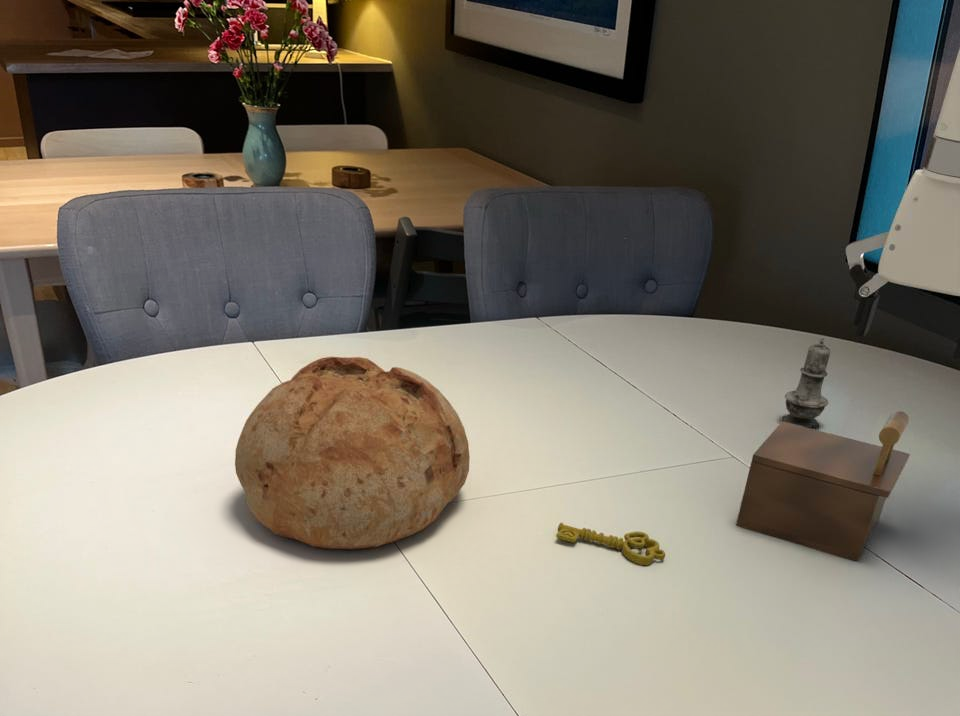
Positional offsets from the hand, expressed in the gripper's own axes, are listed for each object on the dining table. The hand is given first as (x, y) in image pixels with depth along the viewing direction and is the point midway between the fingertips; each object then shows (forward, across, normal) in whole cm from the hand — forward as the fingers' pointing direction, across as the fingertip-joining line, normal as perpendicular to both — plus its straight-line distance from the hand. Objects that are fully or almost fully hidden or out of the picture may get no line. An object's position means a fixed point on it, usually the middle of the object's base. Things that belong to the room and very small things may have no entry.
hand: (909, 345), depth 101 cm
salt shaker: (+21, +13, -28) cm, 37 cm away
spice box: (+21, +4, +2) cm, 22 cm away
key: (+22, +21, +21) cm, 36 cm away
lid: (+13, +4, +2) cm, 14 cm away
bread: (+22, +48, +30) cm, 61 cm away
